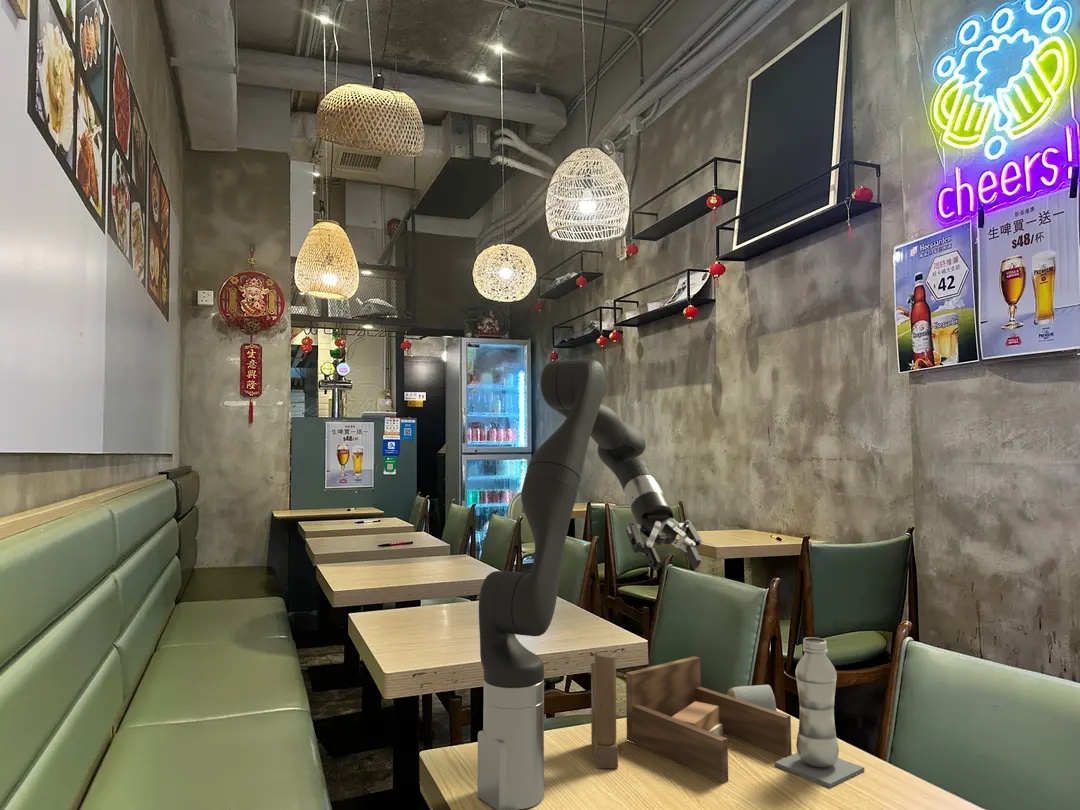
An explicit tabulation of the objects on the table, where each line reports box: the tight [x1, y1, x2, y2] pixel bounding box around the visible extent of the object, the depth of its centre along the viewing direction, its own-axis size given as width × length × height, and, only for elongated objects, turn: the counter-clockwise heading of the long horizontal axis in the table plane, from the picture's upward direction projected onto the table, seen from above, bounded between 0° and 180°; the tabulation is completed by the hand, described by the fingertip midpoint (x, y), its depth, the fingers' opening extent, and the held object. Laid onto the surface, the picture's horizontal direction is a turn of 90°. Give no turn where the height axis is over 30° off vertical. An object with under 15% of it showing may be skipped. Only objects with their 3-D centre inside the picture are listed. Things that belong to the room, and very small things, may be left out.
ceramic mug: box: [726, 684, 778, 712], centre depth 135 cm, size 11×8×8 cm
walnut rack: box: [625, 656, 793, 784], centre depth 126 cm, size 18×22×12 cm
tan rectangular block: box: [672, 701, 724, 737], centre depth 127 cm, size 12×5×6 cm, turn 140°
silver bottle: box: [795, 637, 840, 767], centre depth 118 cm, size 6×7×20 cm
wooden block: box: [590, 651, 619, 769], centre depth 123 cm, size 4×11×18 cm, turn 0°
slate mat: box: [774, 752, 865, 789], centre depth 117 cm, size 10×10×1 cm
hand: (677, 566), depth 134 cm, fingers open, 8 cm apart
